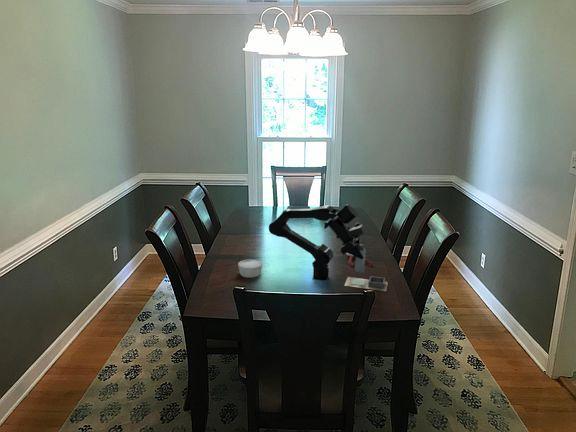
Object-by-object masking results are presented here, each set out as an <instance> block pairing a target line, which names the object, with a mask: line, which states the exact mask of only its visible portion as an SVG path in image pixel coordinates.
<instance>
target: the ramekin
mask: <svg viewBox="0 0 576 432" xmlns="http://www.w3.org/2000/svg"><path fill="white" fill-rule="evenodd" d="M237 267H238V270H239V271H238V272H239V275H241V277H243V278H248V279H249V278H251V279H252V278H257V277H259V276H260V275H261V273H262V267H263V262H262V261H260V260H258V259H243V260H241V261H239V262H238V263H237Z"/></svg>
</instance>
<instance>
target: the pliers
mask: <svg viewBox="0 0 576 432" xmlns="http://www.w3.org/2000/svg"><path fill="white" fill-rule="evenodd" d="M345 255H346V256H347V258H346V259H347V260H348V261H347V264H348V266H350V267H351V268H355V263H354V262H353V260H356V256H354V255H351V254H349V253H346V254H345ZM365 264H366V265H368V266H369V267H373V262H372V261H371V260H370V259H367V258H365Z"/></svg>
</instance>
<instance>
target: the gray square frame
mask: <svg viewBox="0 0 576 432" xmlns="http://www.w3.org/2000/svg"><path fill="white" fill-rule="evenodd" d="M368 280H369V283H368V287H371V288H379V289H384V285H385V282H386V278H385V277H379V276H372V275H371V276H369V279H368Z"/></svg>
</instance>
